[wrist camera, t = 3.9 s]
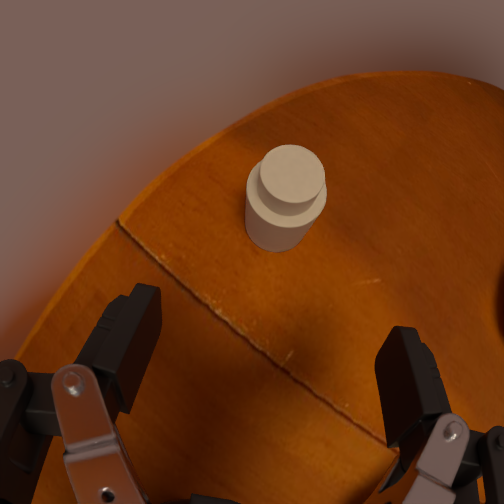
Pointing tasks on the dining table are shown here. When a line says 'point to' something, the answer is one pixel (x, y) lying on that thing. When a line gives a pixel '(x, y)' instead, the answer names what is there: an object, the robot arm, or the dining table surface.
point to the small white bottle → (284, 197)
